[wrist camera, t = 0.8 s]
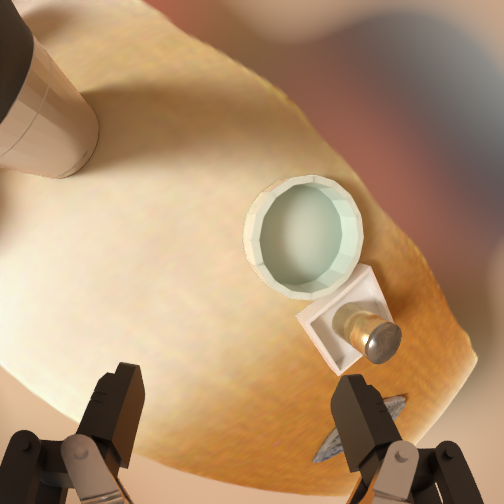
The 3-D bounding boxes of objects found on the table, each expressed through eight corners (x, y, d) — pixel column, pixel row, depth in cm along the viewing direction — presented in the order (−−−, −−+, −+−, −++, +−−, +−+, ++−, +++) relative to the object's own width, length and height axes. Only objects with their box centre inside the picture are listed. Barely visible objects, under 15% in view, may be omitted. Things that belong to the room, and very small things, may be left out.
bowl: (219, 220, 30) (225, 222, 26) (311, 158, 32) (328, 153, 28) (281, 310, 34) (294, 322, 30) (359, 247, 35) (378, 252, 32)
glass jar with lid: (325, 318, 35) (363, 346, 27) (354, 294, 36) (395, 315, 28) (340, 343, 37) (376, 371, 29) (366, 320, 37) (405, 343, 29)
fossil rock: (404, 391, 45) (411, 396, 43) (375, 443, 47) (381, 449, 45) (338, 403, 40) (345, 411, 38) (310, 459, 42) (315, 467, 40)
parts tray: (295, 315, 34) (303, 323, 32) (359, 262, 36) (370, 266, 33) (330, 367, 38) (338, 376, 35) (384, 319, 39) (394, 324, 37)
